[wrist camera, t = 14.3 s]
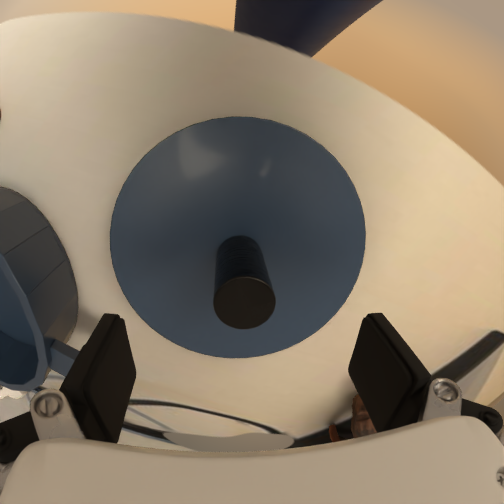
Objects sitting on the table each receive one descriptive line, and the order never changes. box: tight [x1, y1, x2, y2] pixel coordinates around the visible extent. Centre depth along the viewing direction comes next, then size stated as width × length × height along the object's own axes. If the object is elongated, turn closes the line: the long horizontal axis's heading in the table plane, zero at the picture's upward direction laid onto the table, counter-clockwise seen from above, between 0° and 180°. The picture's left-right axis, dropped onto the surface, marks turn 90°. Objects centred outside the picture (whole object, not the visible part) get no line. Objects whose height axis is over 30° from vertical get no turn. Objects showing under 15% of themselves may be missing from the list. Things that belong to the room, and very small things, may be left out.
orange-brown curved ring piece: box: [329, 394, 377, 442], centre depth 24 cm, size 12×10×8 cm
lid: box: [110, 117, 366, 358], centre depth 16 cm, size 17×17×7 cm
